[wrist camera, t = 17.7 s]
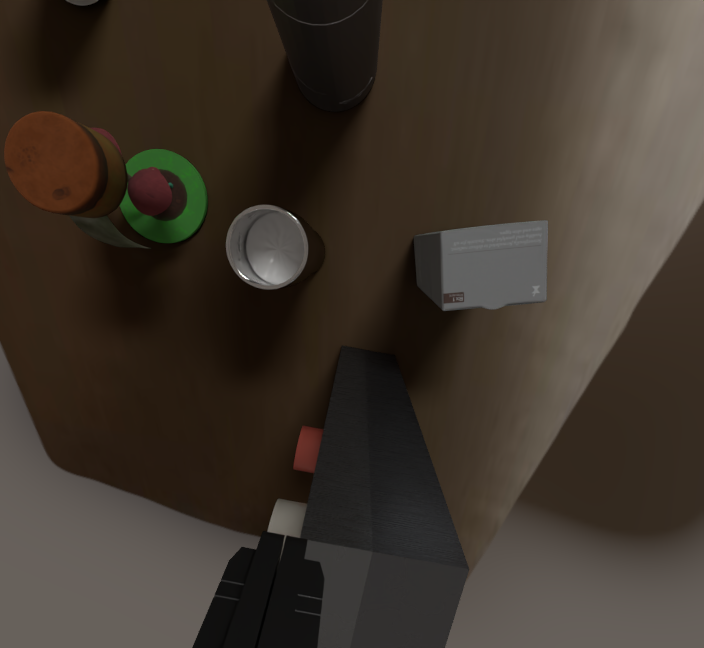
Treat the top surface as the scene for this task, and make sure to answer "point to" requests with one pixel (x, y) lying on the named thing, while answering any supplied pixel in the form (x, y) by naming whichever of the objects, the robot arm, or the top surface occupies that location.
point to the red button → (308, 449)
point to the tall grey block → (380, 517)
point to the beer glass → (273, 247)
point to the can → (82, 2)
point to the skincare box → (484, 265)
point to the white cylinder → (287, 518)
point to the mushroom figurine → (103, 180)
